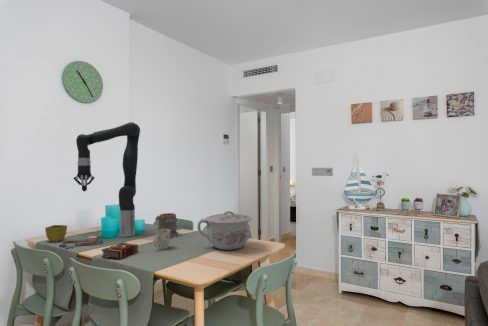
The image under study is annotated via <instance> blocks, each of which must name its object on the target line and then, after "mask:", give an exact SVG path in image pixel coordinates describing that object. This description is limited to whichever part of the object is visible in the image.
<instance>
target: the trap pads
mask: <svg viewBox="0 0 488 326" xmlns="http://www.w3.org/2000/svg"><path fill="white" fill-rule="evenodd" d="M87 239H88V238H87ZM87 239H78V240H79V242H78V243H87V241H86V240H87ZM69 248H72V249H74V248H75V245H67V246H66V247H64V250H68V249H69ZM69 250H70V249H69Z"/></svg>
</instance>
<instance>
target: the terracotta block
mask: <svg viewBox="0 0 488 326" xmlns="http://www.w3.org/2000/svg"><path fill="white" fill-rule="evenodd" d="M87 239H88V242H87V243H89V242H97V235H91V236H87Z"/></svg>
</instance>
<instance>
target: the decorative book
mask: <svg viewBox="0 0 488 326" xmlns="http://www.w3.org/2000/svg"><path fill="white" fill-rule="evenodd" d="M138 251H139V244H136V243H135V244H134V243H127V242H120V243H117V244H114V245H113V244H112V245H110V246H109V247H105V248H102V249H101V252H102V256H101V259H102V258H104V259H113V260H121V259H125V258H127V257H128V256H131V255H134V254H136V253H137V252H138Z"/></svg>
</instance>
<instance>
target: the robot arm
mask: <svg viewBox="0 0 488 326" xmlns="http://www.w3.org/2000/svg"><path fill="white" fill-rule="evenodd" d="M140 133H141V127H140V126H139V125H138V124H137V123H135V122H130V121H129V122H127V123H124V124H122V125H119V126H117V127H113V128H108V129H103V130H99V131H95V132H93V133H89V134H84V133H82V134H78V136H77V137H76V140H75V141H76V142H75V143H76V147H77V154H78V155H77V174H76V176H74V177H73V180H74V181H75V182H76V183H77V184H78V186H81V191H83V192H86V191H88V186H89V185H90V184H91V183H92V182H93V181H94V179H96V178H95V176H93V175H92V173H91V172H92V171H91V166H92V165H91V162H92V161H91V151H90V149H89V146H90V145H94V144H96V143H101V142H105V141H109V140H112V139H115V138H118V137H126V145H125V148H124V152H123V154H122V155H123V156H122V171H123V175H124V182H123V186H122V187H120V189H119V191H118V206H119V237H123V238H127V237H129V238H130V237H135V236H136V219H135V218H136V215H135V214H136V213H135V212H136V211H135V203H134V197H135V196H136V193H137V187H136V186H137V184H136V179H137V170H138V169H137V167H138V156H139V155H138V154H139V152H138V151H139V147H138V146H139V139H140V135H141V134H140ZM89 179H90V180H89ZM88 180H89V181H88Z"/></svg>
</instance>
